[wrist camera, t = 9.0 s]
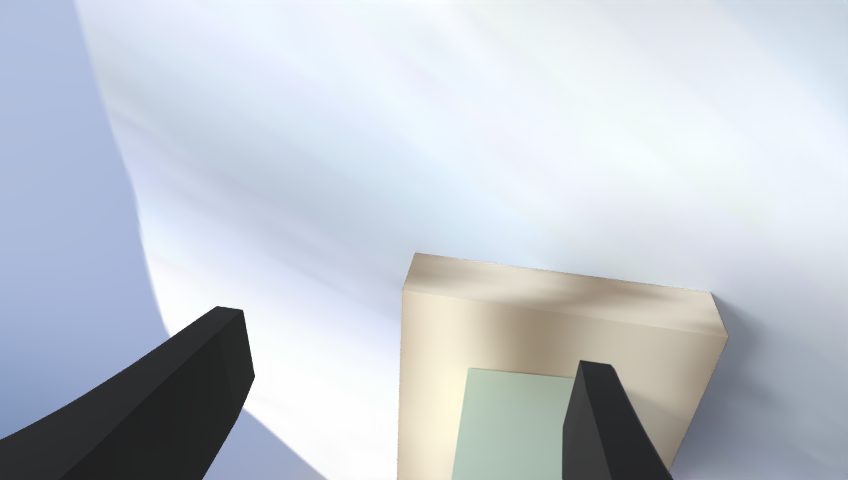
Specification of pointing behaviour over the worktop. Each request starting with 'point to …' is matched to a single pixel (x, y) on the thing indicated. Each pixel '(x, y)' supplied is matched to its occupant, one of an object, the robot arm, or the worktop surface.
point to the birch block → (544, 347)
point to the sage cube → (511, 426)
